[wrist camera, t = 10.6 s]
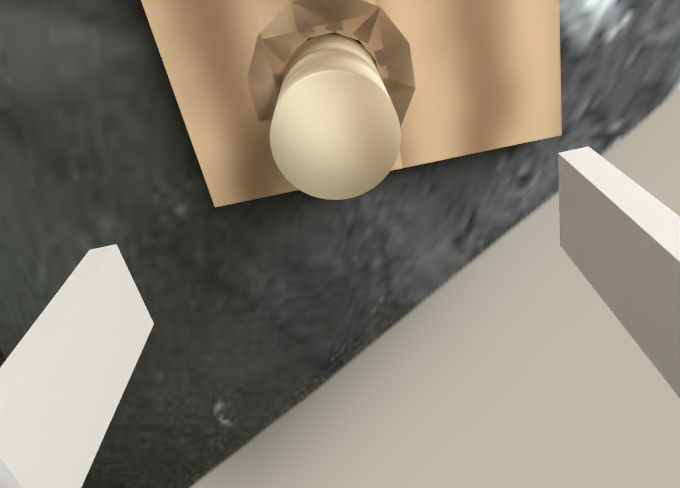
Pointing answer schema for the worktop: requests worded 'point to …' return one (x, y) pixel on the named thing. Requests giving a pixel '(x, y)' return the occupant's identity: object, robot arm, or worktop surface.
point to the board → (393, 67)
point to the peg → (334, 120)
